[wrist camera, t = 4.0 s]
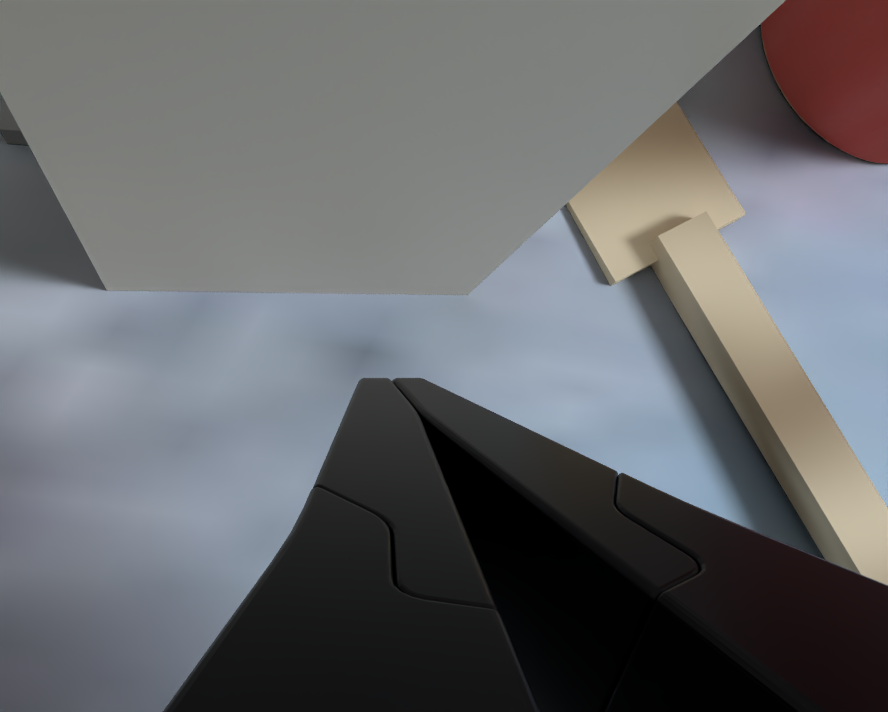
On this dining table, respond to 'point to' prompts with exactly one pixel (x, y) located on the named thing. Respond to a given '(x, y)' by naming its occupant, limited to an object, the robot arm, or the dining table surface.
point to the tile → (338, 128)
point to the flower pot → (834, 69)
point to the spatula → (732, 328)
